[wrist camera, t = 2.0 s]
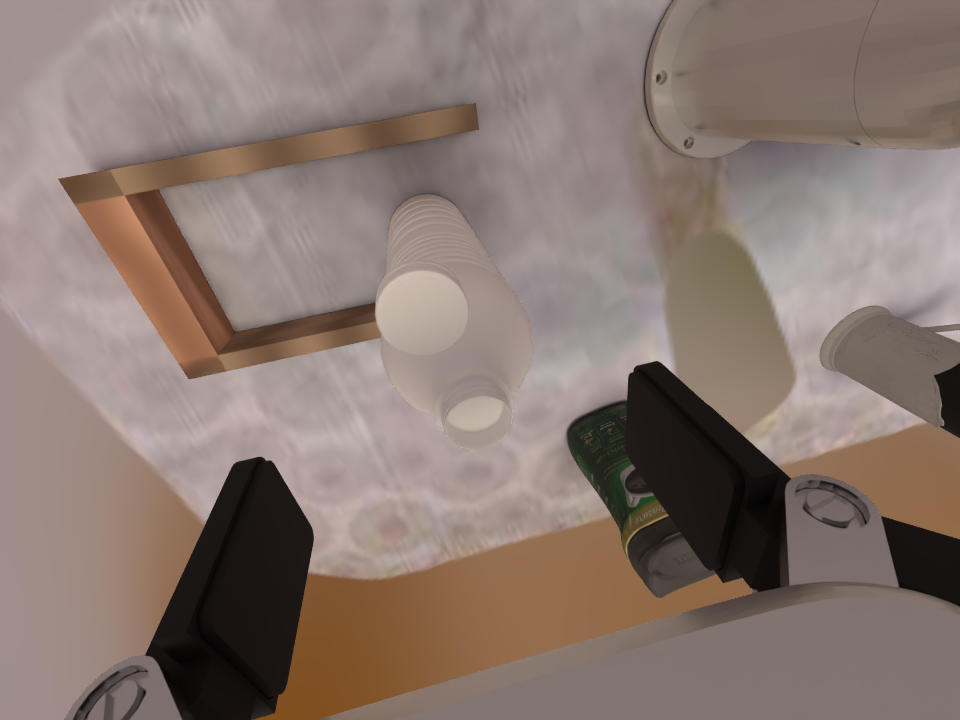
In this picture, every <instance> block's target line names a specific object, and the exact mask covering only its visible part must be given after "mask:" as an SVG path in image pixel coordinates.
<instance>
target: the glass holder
mask: <svg viewBox="0 0 960 720" xmlns="http://www.w3.org/2000/svg"><path fill="white" fill-rule="evenodd" d="M954 330H960V324H954V325H945V326H935V327H919V326H917V325H914V324H912V323H909V322H907V321H904V320H902V319H899V318H897V317H894V316H893V315H891V313H890V312H889V311H888V310H887V309H885V308H883V307H881V306H869V307H865V308H862V309H859V310H857V311H855V312H853V313H851V314H850V315H848V316H847V317H845V318H844V319H843V320H842V321H840V322H839V323H838V324H837V325H836V326H835V327H834V328H833V329H832V331H831V332H830V333H829V334H828V336H827V337H826V339H825V341H824V343H823V345H822V348H821V351H820V361H821V364H822V365H823V366H824V367H825V368H826V369H829V370H831V371H839V372H841V373H843V374H845V375H846V376H848V377H850V378H852V379H853V380H855V381H857V382H859V383H860V384H862V385H864V386H866V387H867V388H869V389H871V390H873V391H874V392H876V393H878V394H880V395H881V396H883V397H885V398H887V399H888V400H890V401H892V402H894V403H895V404H897V405H899V406H901V407H902V408H904V409H906V410H908V411H909V412H911V413H913V414H915V415H916V416H918V417H920V418H922V419H923V420H925V421H927V422H928V423H930V424H932V425H934V426H935V427H937V428H940V427H941V428H943V429H945V430H946V431H948V432H950V433H952V434H953V435H955V436H957V437H959V438H960V343H959V342H957V341H954V340H952V339H949V338H947V337H944V336H942V335H939V334H937V333H934V332H944V331H954Z"/></svg>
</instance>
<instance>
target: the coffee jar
mask: <svg viewBox="0 0 960 720" xmlns="http://www.w3.org/2000/svg"><path fill="white" fill-rule="evenodd" d="M626 416H627V403H623V404H618V405H615V406H612V407H609V408H606V409H603V410H601V411H599V412H596V413H594V414H592V415H590V416H588V417H586V418H584V419H582V420H580V421H579V422H577V423H576V424H575V425H574V426H573V427H572V429H571V431H570V432H569V436H568V444H569V448H570V451H571V454H572V456H573V458H574V460H575V461H576V463H577V465H578V466H579V468H580V469H581V471H582V472H583V474H584V475H585V477H586V478H587V479H588V481H589V482H590V484H591V485H592V486H593V488H594V489H595V490H596V492H597V493H598V495H599V496H600V498H601V499H602V501H603V502H604V504H605V505H606V507H607V508H608V510H609V511H610V513H611V515H612V517H613V518H614V520H615V522H616V524H617V525H618V527H619V529H620V532H621V541H622V546H623V549H624V552H625V555H626V557H627V559H628V560H629V563H630V564H631V565H632V567H633V568H634V569H635V571H636V572H637V574H638V575H639V576H640V577H641V579H642V580H643V582H644V583H645V585H646V586H647V587H648V589H649V590H650V591H651V592H652V593H653V594H654V595H655V596H656V597H659V598H662V597H664V596H665V595H667V594H669V593H671V592H673V591H675V590H677V589H679V588H682V587H685V586H687V585H690V584H693V583H695V582H698V581H700V580H703V579H705V578H708V577H710V576H713V575H715V574H716V572H715V571H714V570H712V571H710V570H708V569H707V568H705V566H704V565H703V564H702V563H701V561H700V560H699V558H698V557H697V556H696V554H695V553H694V551H693V550H692V548H691V547H690V546H689V544H688V543H687V541H686V540H685V538H684V537H683V536H682V534H681V533H680V531H679V530H678V528H677V527H676V526H675V524H674V523H673V521H672V520H671V518H670V517H669V516H668V514H667V513H666V511H665V510H664V508H663V507H662V506H661V504H660V503H659V501H658V500H657V498H656V497H655V496H654V494H653V493H652V491H651V490H650V488H649V487H648V486H647V484H646V483H645V481H644V480H643V478H642V477H641V476H640V474H639V473H638V471H637V470H636V468H635V467H634V466H633V464H632V463H631V461H630V460H629V458H628V456H627V453H626V450H625V437H626Z"/></svg>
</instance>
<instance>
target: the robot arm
mask: <svg viewBox="0 0 960 720" xmlns="http://www.w3.org/2000/svg"><path fill="white" fill-rule="evenodd" d="M657 76H658V79H657V81H656V77H657ZM645 93H646V105H647V109H648V113H649V117H650V120H651V122H652V125H653V127H654V129H655V131H656V133H657V134H658V136H659V137H660V138H661V140H662V141H663V142H664V143H665V144H666V145H667V146H668V147H670V148H671V149H672V150H674V151H675V152H678V153H680V154H682V155H685V156H689V157H695V158H715V157H720V156H724V155H727V154H729V153H732V152H734V151H736V150H738V149H740V148H742V147H743V146H745V145H746V144H748V143H750V142H751V141H752V140H762V141H778V142H794V143H810V144H826V145H842V146H857V147H873V148H889V149H913V150H942V149H951V148H959V147H960V0H674V1H673V2H672V4H671V5H670V7H669V8H668V10H667V12H666V14H665V16H664V18H663V19H662V21H661V23H660V25H659V27H658V30H657V32H656V35H655V38H654V40H653V43H652V46H651V50H650V54H649V58H648V63H647V68H646V79H645ZM684 141H685V142H684ZM625 450H626V453H627V456H628V458H629V460H630V461H631V463H632V464H633V466H634V467H635V468H636V470H637V471H638V473H639V474H640V476H641V477H642V478H643V480H644V481H645V483H646V484H647V486H648V487H649V488H650V490H651V491H652V493H653V494H654V496H655V497H656V498H657V500H658V501H659V503H660V504H661V506H662V507H663V508H664V510H665V511H666V513H667V514H668V516H669V517H670V518H671V520H672V521H673V523H674V524H675V526H676V527H677V528H678V530H679V531H680V533H681V534H682V536H683V537H684V538H685V540H686V541H687V543H688V544H689V546H690V547H691V548H692V550H693V551H694V553H695V554H696V556H697V557H698V558H699V560H700V561H701V563H702V564H703V565H704V566H705V568H707V569H708V570H710V571H712V570H714V571H715V572H716V574H717V575H718V576H719V578H720V579H721V581H722V582H723V583H725V582H729V581H732V580H736V579H739V578H743V579H744V580H745V582H746V583H747V584H748V585H749V586H750V588H752V589H753V592H752V594H750V595H746V596H743V597H739V598H735V599H731V600H728V601H724V602H721V603H717V604H713V605H709V606H705V607H701V608H698V609H694V610H690V611H687V612H683V613H680V614H676V615H673V616H669V617H666V618H662V619H659V620H655V621H652V622H648V623H645V624H641V625H638V626H634V627H631V628H627V629H624V630H621V631H617V632H614V633H610V634H607V635H603V636H600V637H597V638H593V639H589V640H586V641H582V642H579V643H575V644H572V645H569V646H565V647H562V648H558V649H555V650H552V651H548V652H545V653H541V654H538V655H534V656H531V657H528V658H524V659H521V660H517V661H514V662H511V663H507V664H504V665H500V666H497V667H493V668H490V669H487V670H483V671H480V672H476V673H473V674H470V675H466V676H463V677H460V678H456V679H453V680H450V681H446V682H443V683H439V684H436V685H433V686H429V687H426V688H422V689H419V690H416V691H413V692H409V693H406V694H402V695H399V696H396V697H393V698H389V699H386V700H382V701H379V702H376V703H372V704H369V705H366V706H362V707H359V708H356V709H353V710H349V711H346V712H342V713H339V714H335V715H332V716H329V717H325V718H322V719H319V720H960V539H957V538H953V537H950V536H946V535H943V534H940V533H936V532H933V531H929V530H926V529H923V528H920V527H916V526H913V525H909V524H906V523H903V522H899V521H896V520H893V519H889V518H886V517H882V516H881V515H880V513H879V511H878V509H877V507H876V505H875V504H874V503H873V502H872V501H871V500H870V499H869V498H868V497H867V496H866V495H865V494H863V493H862V492H861V491H859V490H858V489H857V488H855V487H853V486H851V485H849V484H847V483H845V482H843V481H840V480H837V479H835V478H831V477H828V476H823V475H815V474H810V475H800V476H797V477H795V478H792V479H791V478H790V477H789V476H787V475H786V474H785V473H784V472H783V471H782V470H781V469H780V468H778V467H777V466H776V465H775V464H774V463H773V462H772V461H771V460H770V459H768V458H767V457H766V456H765V455H764V454H763V453H762V452H761V451H760V450H758V449H757V448H756V447H755V446H754V445H753V444H752V443H751V442H750V441H748V440H747V439H746V438H745V437H744V436H743V435H742V434H741V433H740V432H738V431H737V430H736V429H735V428H734V427H733V426H732V425H730V424H729V423H728V422H727V421H726V420H725V419H724V418H723V417H721V415H719V414H718V413H717V412H716V411H715V410H714V409H713V408H712V407H710V406H709V405H708V404H706V403H705V402H704V401H703V400H701V398H699V397H698V396H697V395H696V394H695V393H694V392H693V391H692V390H691V389H689V388H688V387H687V386H686V385H685V384H684V383H683V382H682V381H680V380H679V379H678V378H677V377H676V376H675V375H674V374H673V373H672V372H671V371H669V370H668V369H667V368H666V367H665V366H664V365H663V364H662V363H660V362H658V361H655V362H651V363H647V364H643V365H638V366H636V367H635V368H634V372H633V373H630V374H629V377H628V395H627V416H626V437H625ZM313 541H314V535H313V530H312V527H311V525H310V523H309V522H308V520H307V518H306V517H305V515H304V513H303V512H302V510H301V508H300V507H299V505H298V503H297V501H296V500H295V498H294V496H293V495H292V493H291V491H290V490H289V488H288V486H287V485H286V483H285V481H284V480H283V478H282V476H281V475H280V473H279V471H278V470H277V468H276V466H275V464H274V463H273V462H272V461H266V460H265V459H264V458H262V457H256V458H252V459H248V460H244V461H239V462H236V463H235V464H234V465H233V466H232V468H231V470H230V472H229V474H228V477H227V479H226V481H225V483H224V485H223V487H222V490H221V492H220V494H219V496H218V498H217V500H216V503H215V505H214V507H213V509H212V511H211V513H210V516H209V518H208V520H207V522H206V524H205V526H204V529H203V531H202V533H201V535H200V537H199V539H198V541H197V544H196V546H195V548H194V550H193V553H192V554H191V557H190V559H189V561H188V563H187V565H186V567H185V570H184V572H183V574H182V576H181V578H180V580H179V583H178V585H177V587H176V589H175V592H174V594H173V596H172V598H171V600H170V602H169V604H168V606H167V609H166V611H165V613H164V616H163V617H162V619H161V622H160V624H159V626H158V628H157V630H156V633H155V635H154V637H153V639H152V641H151V644H150V646H149V648H148V650H147V652H146V654H145V655H141V656H135V657H131V658H128V659H126V660H124V661H122V662H120V663H118V664H116V665H114V666H113V667H112V668H110V669H109V670H107V671H106V672H104V673H103V674H101V675H100V676H99V677H98V678H97V679H96V680H95V681H94V682H93V683H92V684H91V685H90V686H89V687H87V688H86V690H85V691H84V692H83V693H82V694H81V696H80V697H79V698H78V700H76V702H75V703H74V704H73V706H72V707H71V709H70V711H69V712H68V714H67V716H66V717H65V719H64V720H253V719H256V718H259V717H263V716H267V715H270V714H273V713H275V709H276V704H277V699H278V695H279V694H282V693H283V692H284V690H285V688H286V685H287V681H288V676H289V670H290V665H291V660H292V654H293V648H294V644H295V638H296V633H297V627H298V622H299V617H300V611H301V606H302V601H303V595H304V590H305V584H306V579H307V574H308V568H309V563H310V558H311V552H312V547H313Z"/></svg>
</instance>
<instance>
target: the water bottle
mask: <svg viewBox="0 0 960 720" xmlns="http://www.w3.org/2000/svg"><path fill="white" fill-rule="evenodd" d="M375 318H376V323H377V326H378V329H379V331H380V332H381V355H382V361H383V364H384V368H385V370H386V373H387V375H388V377H389V379H390V381H391V383H392V385H393V386H394V388H395V389H396V390H397V392H398V393H399V394H400V395H401V396H402V397H403V398H404V399H405V400H406V401H407V402H408V403H409V404H410V405H412V406H413V407H414V408H416V409H418V410H420V411H422V412H424V413H426V414H429V415H431V416H434V417H435V419H436V422H437V424H438V425H439V427H440V428H441V429H442V430H443V432H444V434H445V435H446V436H447V438H448V439H449V441H450V442H451V443H453V444H454V445H456V446H457V447H460V448H462V449H466V450H481V449H486V448H489V447H491V446H493V445H495V444H497V443H499V442H500V441H501V440H502V439H503V438H504V437H505V436H506V435H507V434H508V432H509V431H510V429H511V426H512V421H513V408H514V397H513V395H514V394H515V393H516V391H517V390H518V389H519V387H520V386H521V384H522V382H523V381H524V379H525V377H526V375H527V373H528V370H529V367H530V364H531V360H532V353H533V335H532V329H531V325H530V321H529V318H528V316H527V313H526V311H525V309H524V307H523V305H522V304H521V302H520V301H519V299H518V298H517V296H516V295H515V293H514V292H513V291H512V290H511V288H510V287H509V286H508V284H507V283H506V281H505V279H504V278H503V277H502V275H501V273H500V272H499V271H498V269H497V267H496V266H495V264H494V263H493V261H492V260H491V258H490V257H489V255H488V253H487V251H486V250H485V248H484V247H483V245H482V244H481V243H480V241H479V239H478V238H477V237H476V235H475V233H474V232H473V231H472V229H471V227H470V226H469V225H468V223H467V221H466V220H465V218H464V217H463V215H462V214H461V212H460V211H459V210H458V208H457V207H456V206H455V205H454V204H452V203H451V202H450V201H448V200H446V199H445V198H442V197H440V196H436V195H431V194H426V195H418V196H414V197H412V198H410V199H408V200H406V201H405V202H403V203H402V204H401V205H400V206H399V207H398V208H397V210H396V211H395V213H394V214H393V216H392V218H391V221H390V225H389V232H388V248H387V262H386V274H385V276H384V278H383V279H382V281H381V283H380V285H379V287H378V291H377V295H376V304H375Z"/></svg>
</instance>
